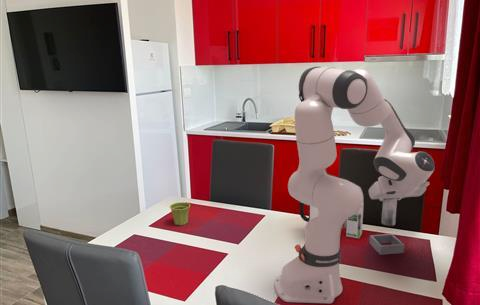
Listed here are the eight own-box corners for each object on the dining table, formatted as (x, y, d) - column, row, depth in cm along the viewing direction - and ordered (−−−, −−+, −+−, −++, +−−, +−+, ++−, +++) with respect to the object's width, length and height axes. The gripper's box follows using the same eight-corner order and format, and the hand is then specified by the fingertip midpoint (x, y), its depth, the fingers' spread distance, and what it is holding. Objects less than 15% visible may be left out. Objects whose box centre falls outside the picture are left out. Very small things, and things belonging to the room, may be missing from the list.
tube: (385, 226, 146) (387, 192, 143) (378, 220, 151) (381, 187, 148) (397, 225, 147) (400, 191, 143) (391, 219, 152) (393, 186, 148)
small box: (346, 229, 169) (347, 212, 167) (336, 228, 170) (337, 211, 168) (346, 224, 174) (347, 208, 172) (337, 223, 175) (337, 207, 173)
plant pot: (168, 221, 182) (167, 204, 179) (187, 217, 185) (186, 200, 183) (174, 228, 173) (172, 211, 171) (193, 224, 177) (192, 207, 175)
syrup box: (345, 236, 162) (347, 204, 159) (348, 230, 167) (350, 200, 164) (359, 239, 160) (361, 206, 156) (362, 233, 165) (364, 202, 161)
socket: (380, 254, 146) (380, 246, 146) (369, 243, 156) (369, 235, 155) (403, 253, 147) (404, 244, 147) (391, 241, 157) (392, 233, 156)
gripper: (428, 173, 138) (411, 190, 150) (375, 176, 136) (362, 193, 148) (435, 189, 135) (417, 204, 147) (379, 192, 133) (366, 208, 145)
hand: (389, 198), depth 147 cm, fingers closed on tube, 5 cm apart
